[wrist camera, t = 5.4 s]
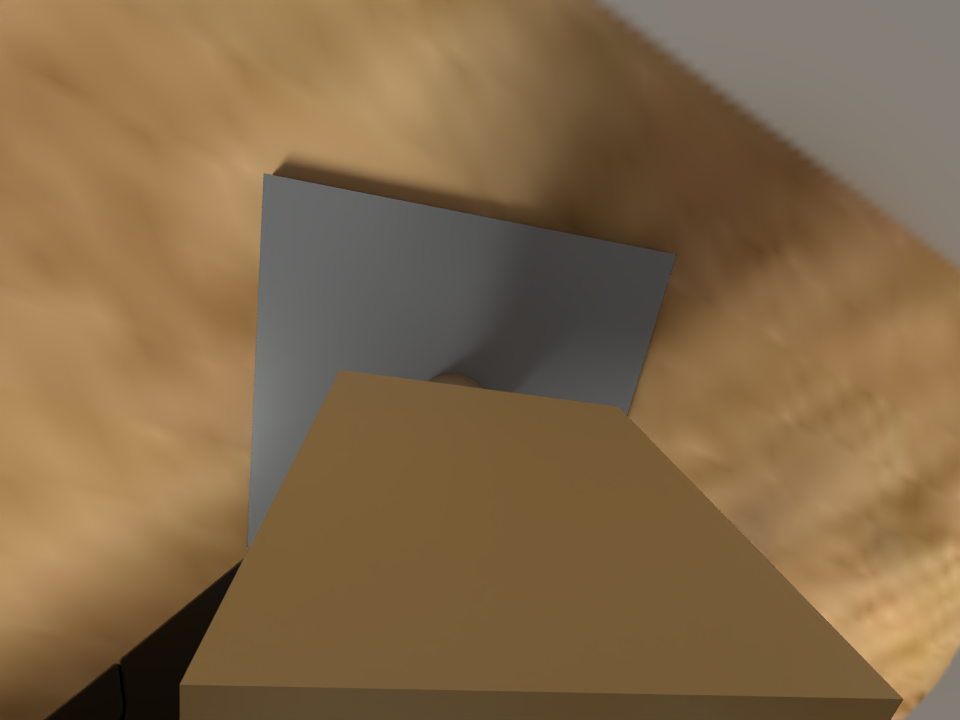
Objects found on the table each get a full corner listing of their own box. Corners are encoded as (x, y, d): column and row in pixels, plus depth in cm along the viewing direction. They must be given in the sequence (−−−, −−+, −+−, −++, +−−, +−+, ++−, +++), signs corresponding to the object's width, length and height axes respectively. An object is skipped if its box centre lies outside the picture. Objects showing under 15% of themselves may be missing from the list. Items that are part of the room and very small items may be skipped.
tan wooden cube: (555, 617, 11) (691, 1040, 5) (315, 605, 10) (183, 1099, 5) (618, 406, 10) (902, 699, 4) (339, 370, 9) (179, 685, 3)
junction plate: (575, 558, 18) (609, 639, 15) (253, 535, 16) (208, 622, 13) (666, 252, 15) (739, 266, 11) (270, 174, 13) (214, 163, 9)
